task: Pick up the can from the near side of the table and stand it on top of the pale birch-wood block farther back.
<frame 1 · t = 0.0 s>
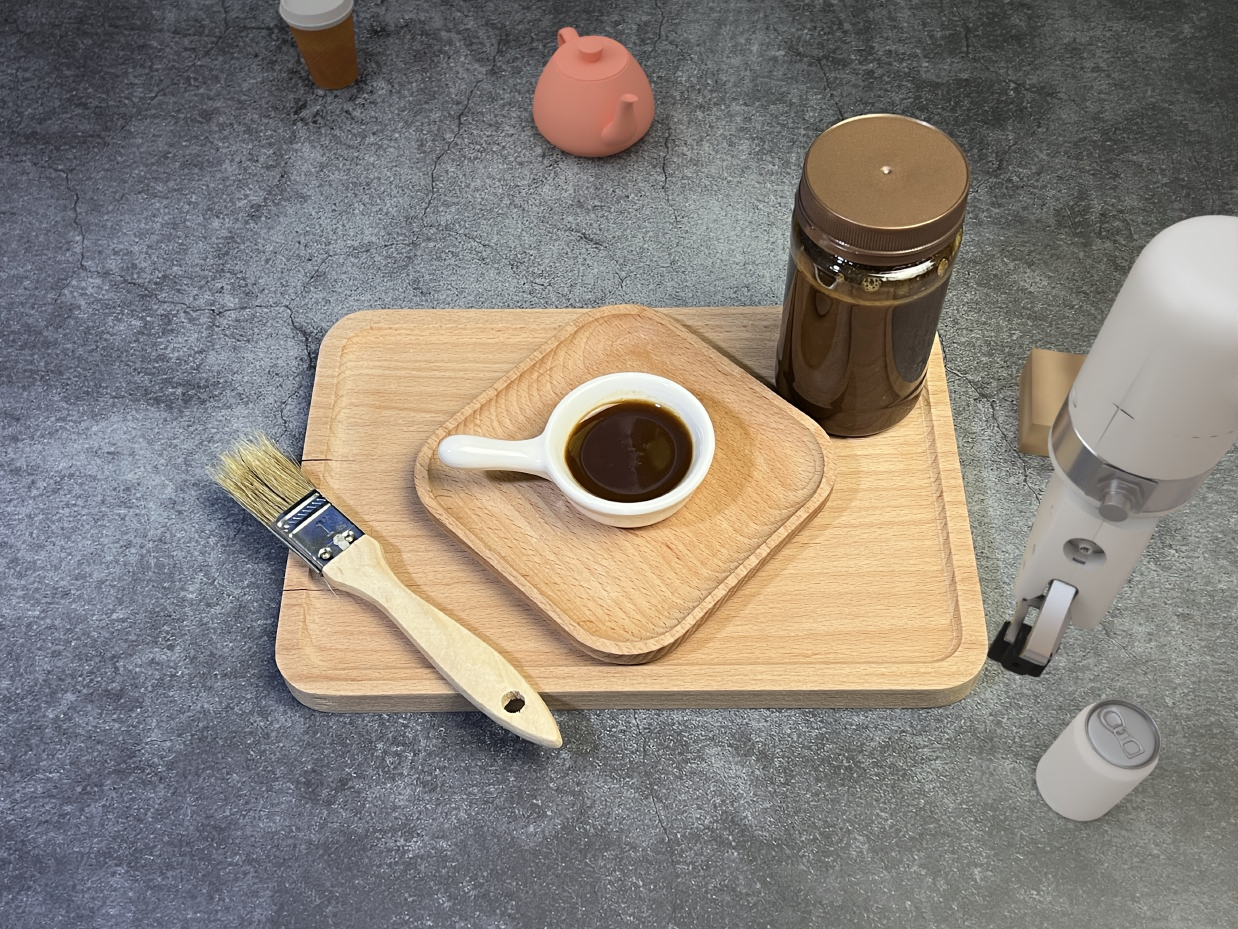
hand: (1034, 599, 69), 31 cm above the worktop, tool pointing down, fingers open, 9 cm apart
can: (1072, 785, 94), on the worktop
block: (1067, 421, 115), on the worktop
teapot: (597, 133, 143), on the worktop
disposable coffee cup: (336, 76, 151), on the worktop
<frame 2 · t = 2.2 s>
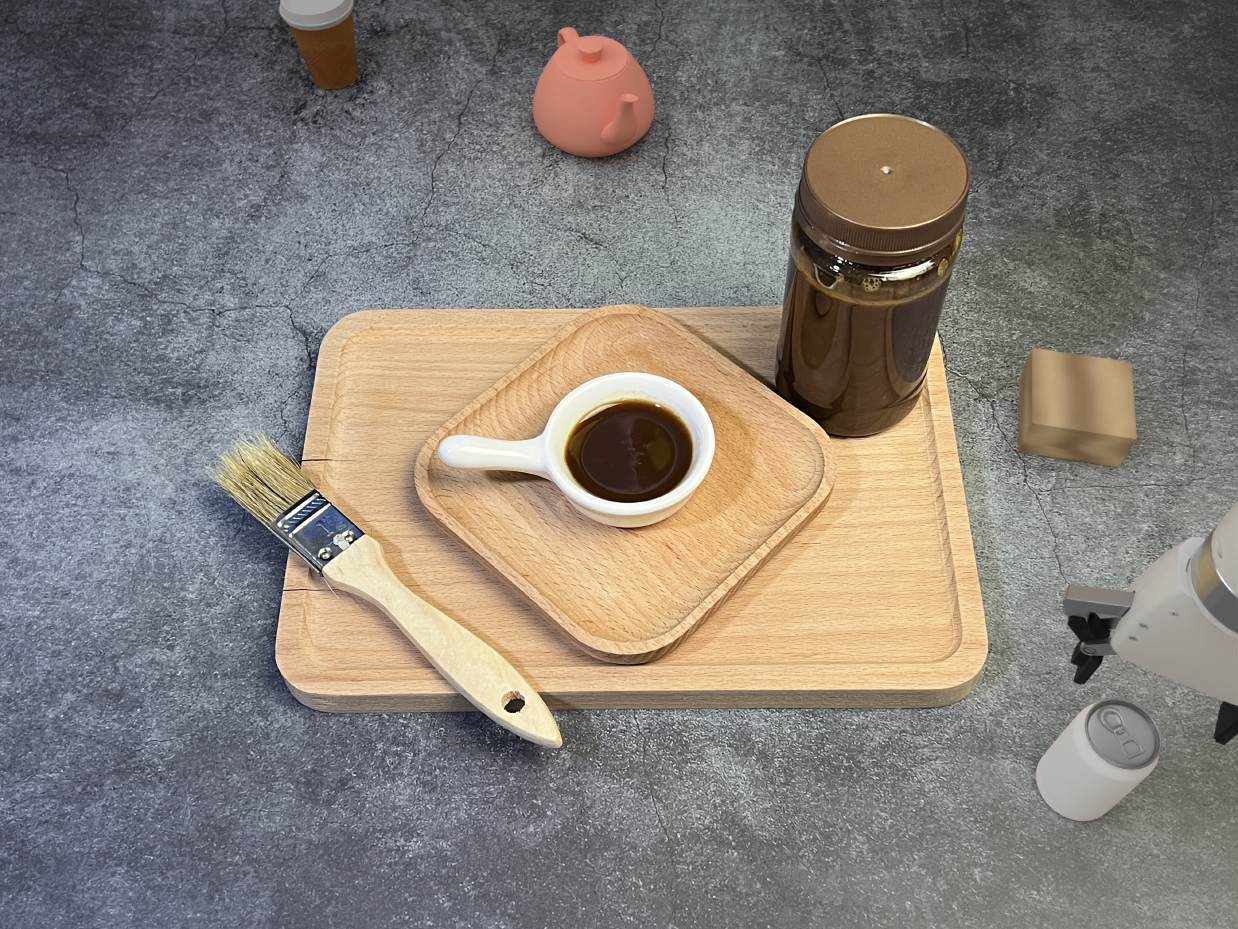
hand: (1150, 695, 78), 19 cm above the worktop, tool pointing down, fingers open, 9 cm apart
nothing on the worktop moved.
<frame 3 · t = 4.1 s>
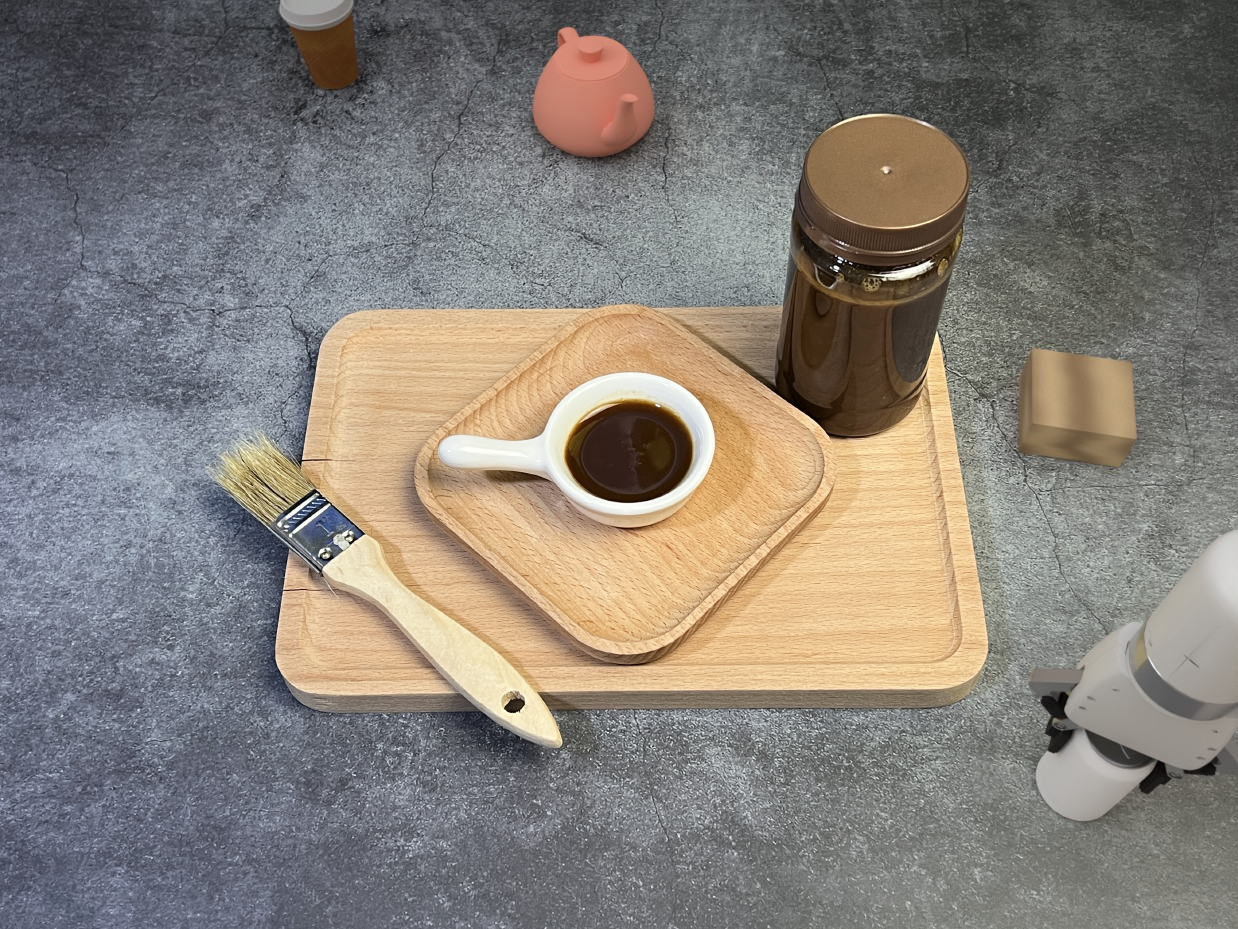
hand: (1101, 755, 88), 7 cm above the worktop, tool pointing down, fingers closed on can, 6 cm apart
can: (1072, 785, 94), on the worktop, touching gripper
everything else where it was.
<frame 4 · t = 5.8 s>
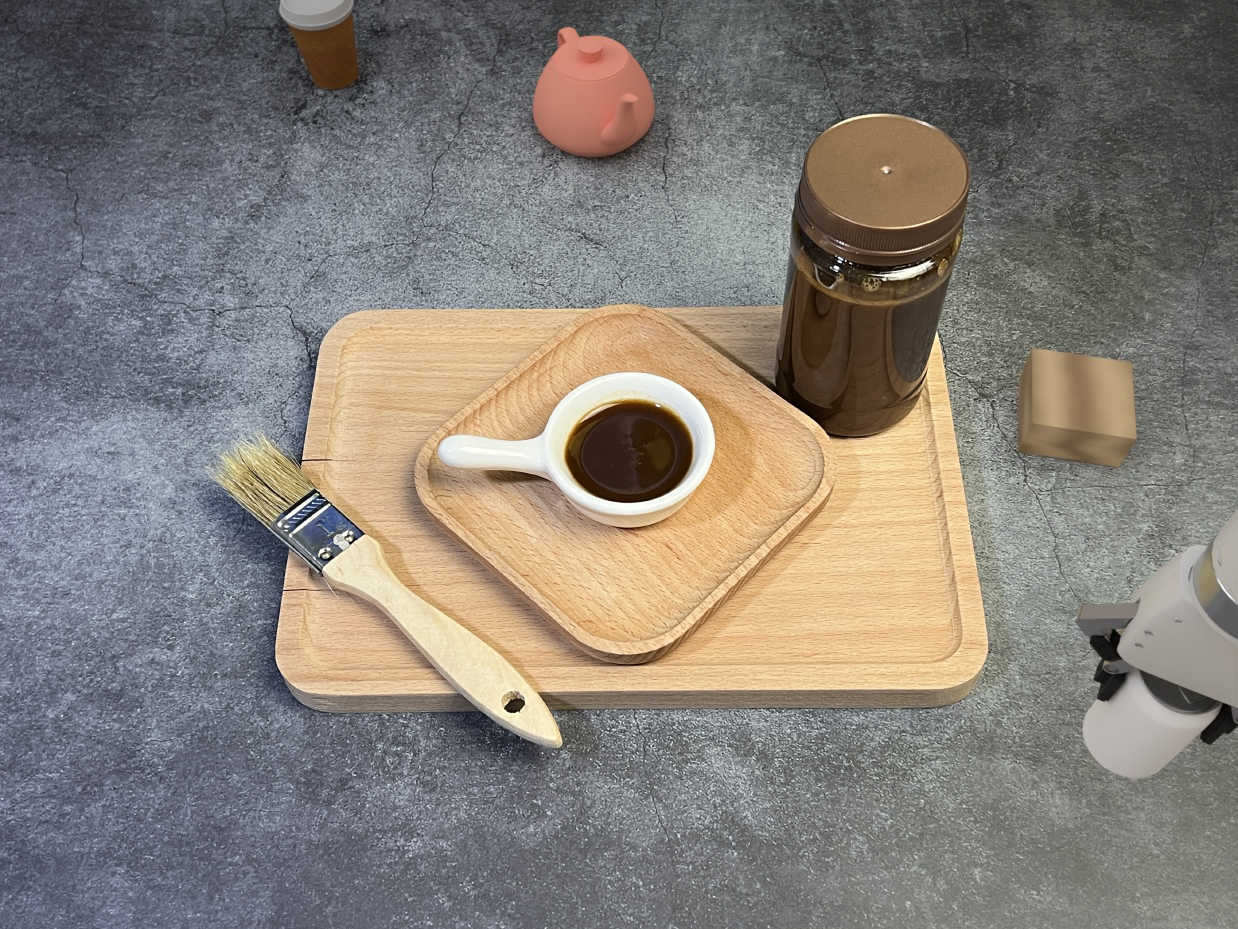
hand: (1156, 703, 79), 17 cm above the worktop, tool pointing down, fingers closed on can, 6 cm apart
can: (1123, 740, 85), point 10 cm above the worktop, touching gripper
everything else where it was.
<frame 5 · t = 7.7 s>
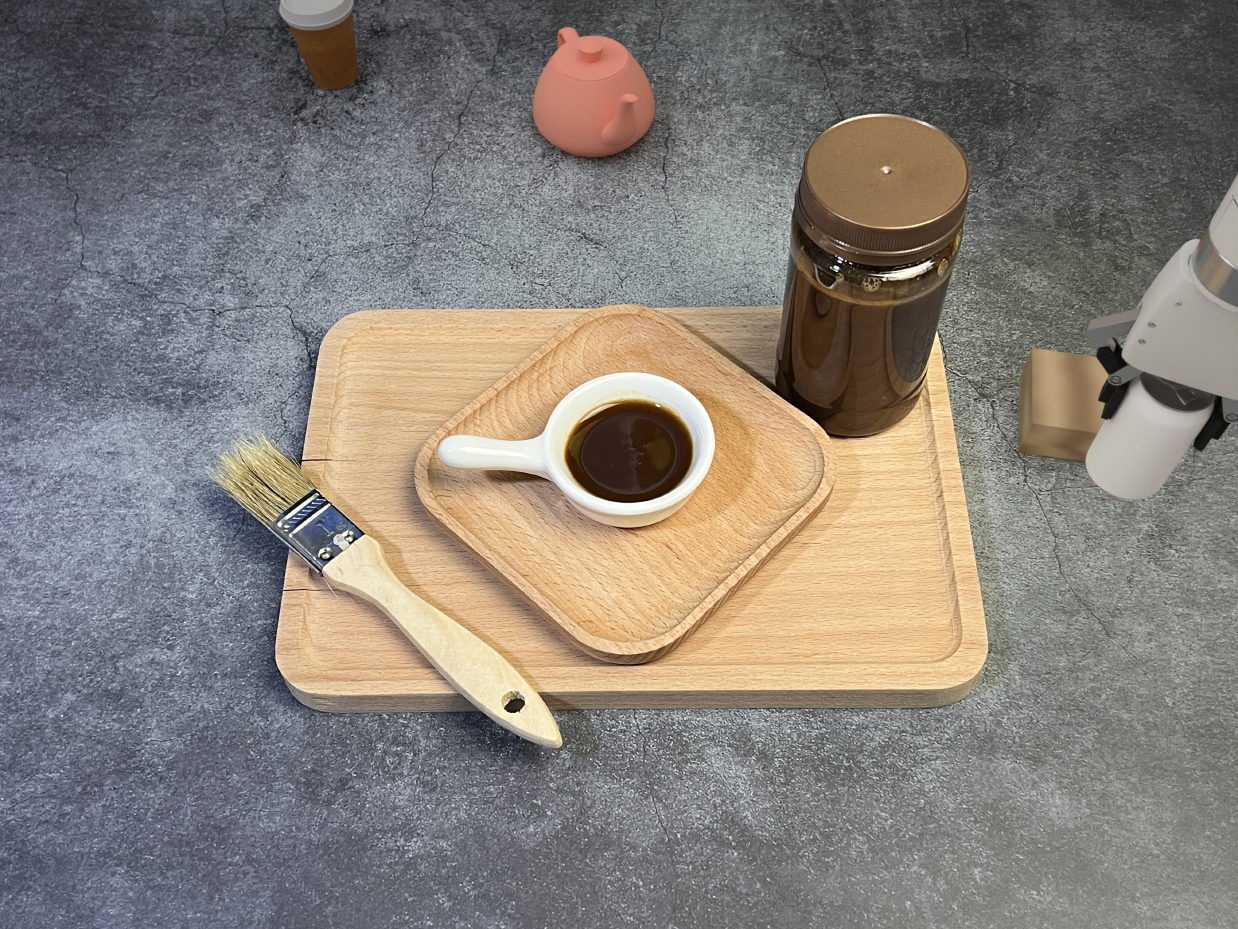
hand: (1154, 420, 88), 22 cm above the worktop, tool pointing down, fingers closed on can, 6 cm apart
can: (1121, 472, 94), point 14 cm above the worktop, touching gripper
everything else where it was.
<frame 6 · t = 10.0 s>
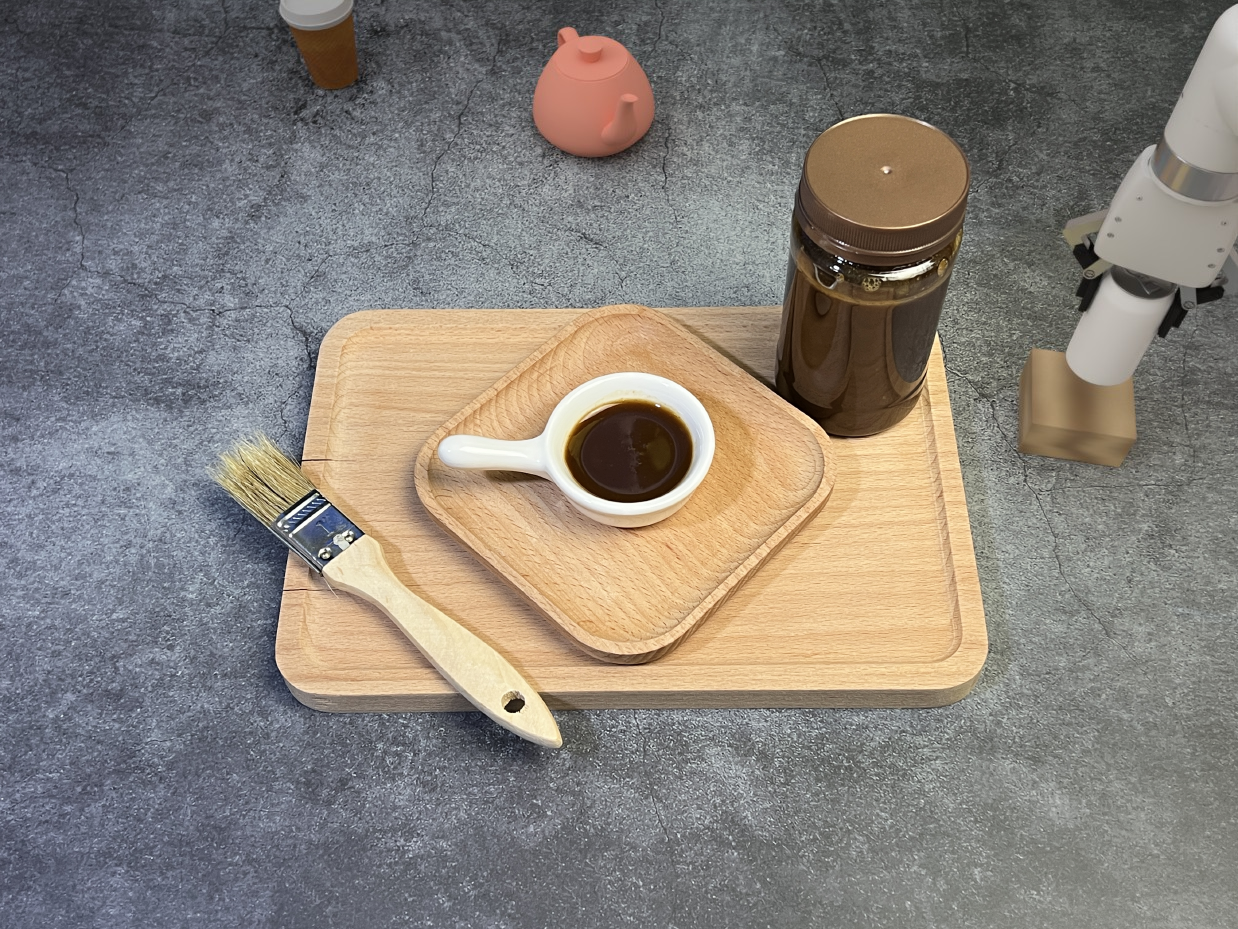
hand: (1124, 313, 101), 17 cm above the worktop, tool pointing down, fingers closed on can, 6 cm apart
can: (1097, 364, 107), point 9 cm above the worktop, touching gripper
everything else where it was.
when the fingers open (12 cm above the worktop, at t = 11.7 s): can stays where it is, resting on block.
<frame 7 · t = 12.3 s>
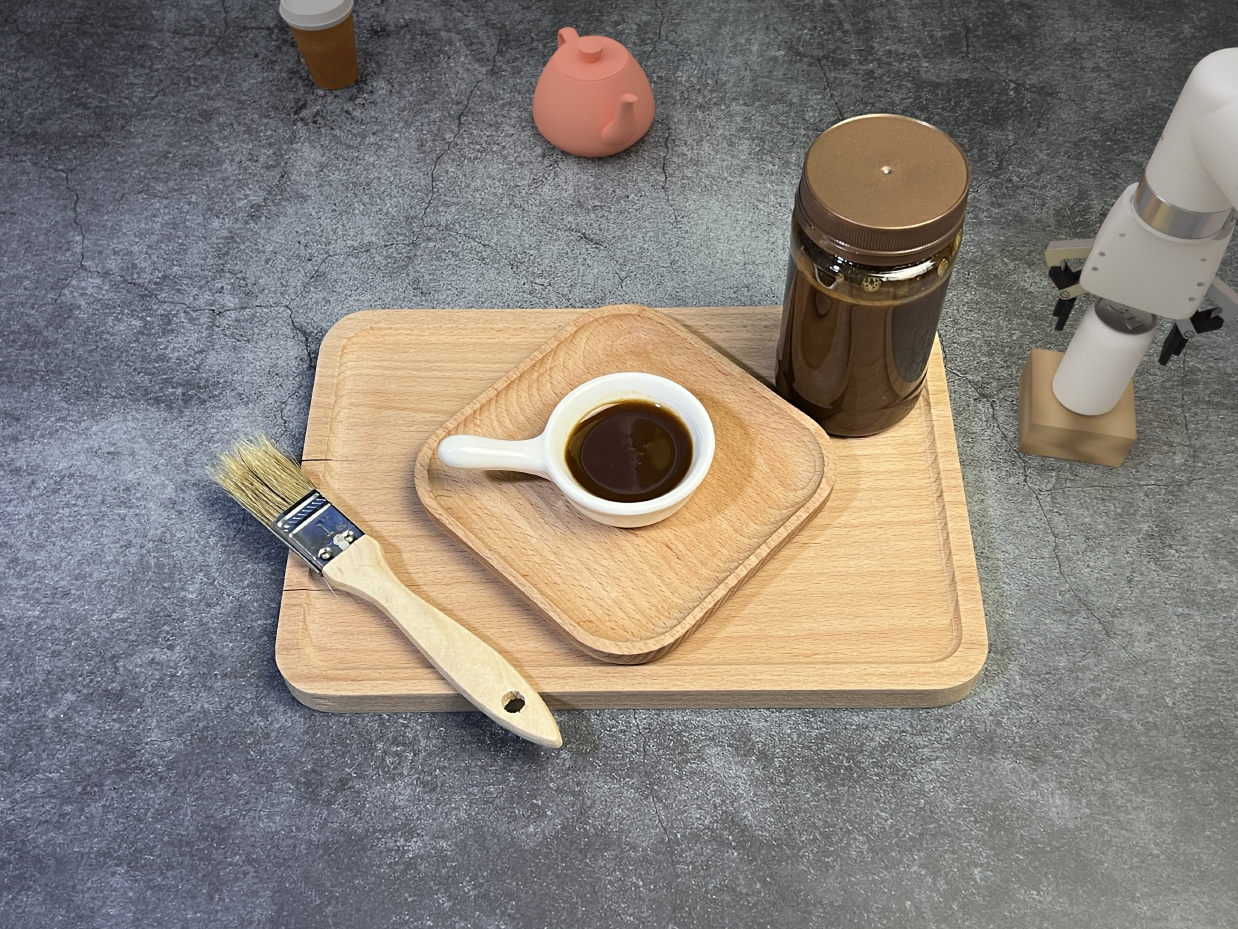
hand: (1112, 337, 104), 13 cm above the worktop, tool pointing down, fingers open, 9 cm apart
can: (1083, 393, 111), point 5 cm above the worktop, touching block
everything else where it was.
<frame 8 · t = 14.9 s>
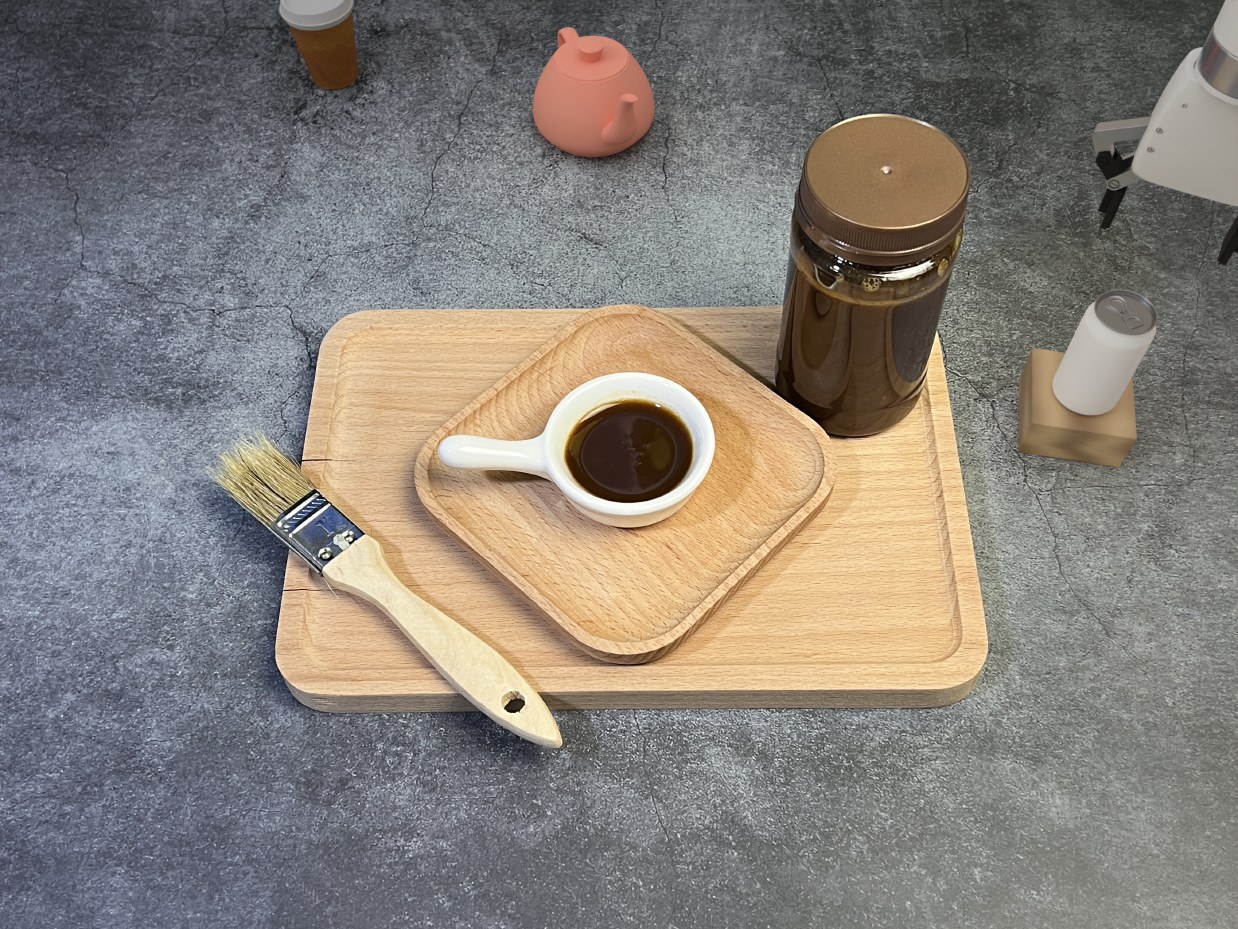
hand: (1164, 235, 93), 26 cm above the worktop, tool pointing down, fingers open, 9 cm apart
nothing on the worktop moved.
at the end: can 0.1 cm off-centre on the block, point 4.8 cm above the block's base; can tilted 0°; the gripper is holding nothing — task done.
